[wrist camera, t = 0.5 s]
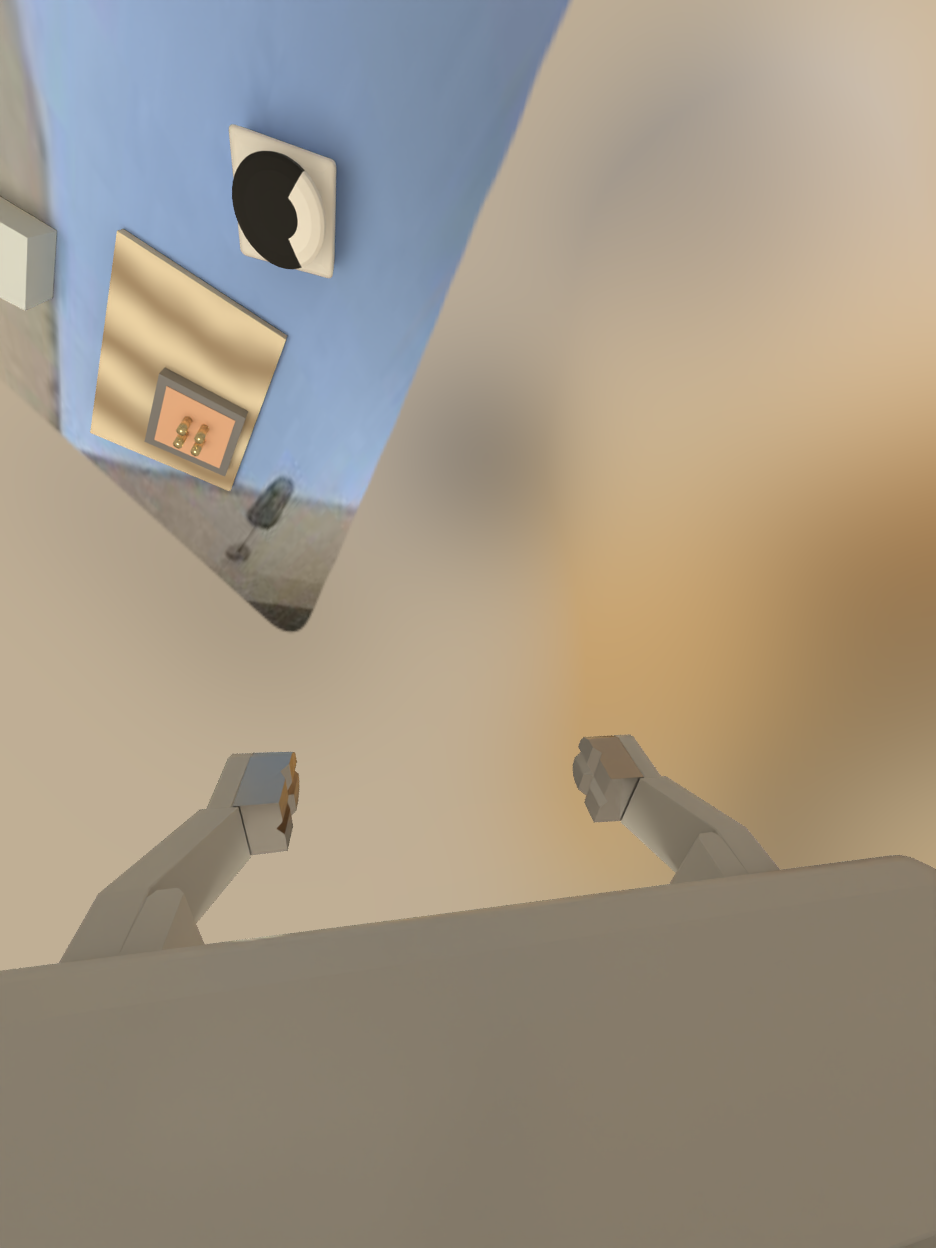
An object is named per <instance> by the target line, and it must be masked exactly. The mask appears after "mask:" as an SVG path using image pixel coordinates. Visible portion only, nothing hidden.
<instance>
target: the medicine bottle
mask: <svg viewBox="0 0 936 1248" xmlns="http://www.w3.org/2000/svg"><path fill="white" fill-rule="evenodd" d="M229 137H230V147H231V157H232V167H233V178H234V179H233V186H232V199H233V207H234V211H235V215H236V218H237V221H238V228H239V238H240V248H241V251H242V253H243V254H244V255H246V256H250V257H253V258H257V259H260V260H264V261H268V262H270V263H272V264H274V265H276V266H278V267H281V268H285V269H297V270H300V271H304V272H307V273H311V274H315V275H318V276H322V277H325V278H331V277H332V275H333V268H334V257H335V209H336V163H335V161H334V160H332V159H330V158H327V157H324V156H322V155H319V154H316V153H313V152H311V151H308V150H305V149H302V148H300V147H297V146H294V145H291V144H288V143H286V142H283V141H280V140H277V139H275V138H272V137H269V136H266V135H264V134H261V133H258V132H255V131H253V130H250V129H247V128H244V127H240V126H237V125H230V126H229Z"/></svg>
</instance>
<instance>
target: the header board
mask: <svg viewBox="0 0 936 1248" xmlns="http://www.w3.org/2000/svg"><path fill="white" fill-rule="evenodd" d="M286 338H287V335H285V334H284V333H282V332H281V331H279V330H278V329H276V328H275V327H273V326H272V325H270V324H269V323H267V322H266V321H264V320H262V319H261V318H259V317H258V316H256V315H255V314H253V313H252V312H250V311H249V310H247V309H246V308H244V307H243V306H241V305H239V304H238V303H236V302H235V301H233V300H232V299H230V298H229V297H227V296H226V295H224V294H223V293H221V292H219V291H218V290H216V289H215V288H213V287H212V286H210V285H209V284H207V283H206V282H204V281H203V280H201V279H200V278H198V277H196V276H195V275H193V274H192V273H190V272H189V271H187V270H186V269H184V268H183V267H181V266H180V265H178V264H176V263H175V262H173V261H172V260H170V259H169V258H167V257H166V256H164V255H163V254H161V253H160V252H158V251H157V250H155V249H153V248H152V247H150V246H149V245H147V244H146V243H144V242H143V241H141V240H140V239H138V238H137V237H135V236H134V235H132V234H130V233H129V232H127V231H126V230H124V229H121V230H118V231H117V235H116V243H115V250H114V258H113V265H112V273H111V280H110V288H109V296H108V303H107V311H106V318H105V326H104V333H103V341H102V348H101V356H100V363H99V371H98V379H97V386H96V394H95V401H94V409H93V416H92V424H91V431H90V433H92V434H95V435H97V436H99V437H102V438H104V439H107V440H109V441H111V442H114V443H116V444H118V445H121V446H123V447H126V448H128V449H130V450H133V451H135V452H138V453H140V454H142V455H145V456H147V457H149V458H152V459H154V460H157V461H159V462H161V463H164V464H166V465H168V466H171V467H173V468H176V469H178V470H180V471H183V472H185V473H187V474H190V475H192V476H195V477H197V478H199V479H202V480H204V481H207V482H209V483H211V484H214V485H216V486H218V487H221V488H223V489H226V490H228V491H230V490H231V488H232V485H233V482H234V479H235V477H236V474H237V471H238V469H239V466H240V463H241V460H242V458H243V455H244V452H245V450H246V447H247V444H248V441H249V439H250V436H251V433H252V431H253V428H254V425H255V422H256V420H257V417H258V414H259V412H260V409H261V406H262V404H263V401H264V398H265V395H266V393H267V390H268V387H269V385H270V382H271V379H272V376H273V374H274V371H275V368H276V366H277V363H278V360H279V357H280V355H281V352H282V349H283V347H284V344H285V341H286Z"/></svg>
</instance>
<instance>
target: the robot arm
mask: <svg viewBox="0 0 936 1248" xmlns="http://www.w3.org/2000/svg"><path fill="white" fill-rule="evenodd" d="M579 749H580V751H581V752H580V754H578V755H577V756H576V757H575V759H574V763H573V776H574V780H575V783H576V785H577V788H578V789H579V790H580V791H581V792H582V793H584V794H585V795H586V799H585V804H586V807H587V809H588V811H589V813H590V815H591V817H592V819H593V821H594V822H608V821H621V823H622V824H623V825H624V826H626V827H627V828H628V829H629V830H630V831H631V832H632V833H633V834H634V835H635V836H636V837H637V838H639V839H640V840H641V841H642V842H643V843H644V844H645V845H646V846H647V847H648V848H649V849H650V850H651V851H653V852H654V853H655V854H656V855H657V856H658V857H659V858H660V859H661V860H662V861H663V862H664V863H666V864H667V865H668V866H669V867H670V868H671V869H672V870H673V871H674V872H676V874H675V876H674V877H673V879H672V880H671V882H670V884H667V885H660V886H652V887H645V888H637V889H629V890H622V891H613V892H606V893H599V894H591V895H583V896H575V897H567V898H560V899H552V900H545V901H536V902H529V903H521V904H513V905H506V906H498V907H491V908H483V909H475V910H468V911H460V912H452V913H445V914H437V915H430V916H422V917H414V918H407V919H399V920H391V921H383V922H375V923H367V924H360V925H352V926H344V927H337V928H329V929H321V930H313V931H306V932H298V933H290V934H283V935H275V936H267V937H259V938H252V939H244V940H236V941H229V942H220V943H213V944H206V945H204V942H203V940H202V937H201V935H200V932H199V930H198V927H197V925H196V923H197V922H198V921H199V920H200V918H201V917H202V916H203V915H204V913H205V912H206V911H207V910H208V909H209V908H210V906H211V905H212V904H213V903H214V901H215V900H216V899H217V898H218V897H219V895H220V894H221V893H222V892H223V890H224V889H225V888H226V887H227V886H228V884H229V883H230V882H231V881H232V880H233V878H234V877H235V876H236V875H237V874H238V872H239V871H240V870H241V869H242V868H243V866H244V865H245V864H246V863H247V861H248V860H249V859H250V858H251V856H250V855H256V854H265V853H273V852H281V851H288V846H289V841H290V837H291V832H292V828H293V823H292V817H291V815H292V814H293V813H294V812H295V811H296V809H297V804H298V797H299V774H298V773H297V772H296V771H295V768H296V763H297V760H296V754H295V752H270V753H247V754H246V753H245V754H232V755H231V756H230V757H229V758H228V760H227V762H226V765H225V767H224V769H223V771H222V774H221V776H220V779H219V781H218V783H217V785H216V788H215V790H214V793H213V795H212V797H211V800H210V802H209V804H208V806H207V809H202V810H199V811H198V812H196V813H195V814H194V815H193V816H192V817H190V818H189V819H188V820H187V821H186V822H184V823H183V824H182V825H181V826H180V827H178V828H177V829H176V830H175V831H174V832H172V833H171V834H170V835H169V836H167V838H165V839H164V840H163V841H161V842H160V843H159V844H158V845H157V846H155V847H154V848H153V849H152V850H151V851H149V852H148V853H147V854H146V855H145V856H143V857H142V858H141V859H140V860H139V861H137V862H136V863H135V864H134V865H133V866H131V867H130V868H129V869H128V870H126V872H124V873H123V874H122V875H121V876H119V877H118V878H117V879H116V880H115V881H113V882H112V883H111V884H110V885H108V886H107V887H106V888H105V889H104V890H103V891H101V892H100V893H99V894H98V895H97V897H96V899H95V901H94V902H93V904H92V906H91V908H90V909H89V911H88V913H87V915H86V916H85V919H84V920H83V922H82V923H81V925H80V927H79V929H78V930H77V932H76V934H75V936H74V937H73V939H72V941H71V943H70V944H69V946H68V948H67V950H66V952H65V953H64V955H63V957H62V958H61V960H60V962H59V963H58V964H50V965H42V966H34V967H26V968H19V969H11V970H3V971H0V1248H936V869H934V868H933V867H931V866H929V865H926V864H924V863H922V862H920V861H918V860H916V859H914V858H911V857H907V856H901V855H893V856H883V857H876V858H868V859H860V860H852V861H845V862H837V863H829V864H822V865H814V866H806V867H799V868H791V869H783V870H780V869H779V868H778V867H777V865H776V864H775V863H774V862H773V860H772V859H771V858H770V857H769V855H768V854H767V853H766V852H765V850H764V849H763V848H762V847H761V845H760V844H759V843H758V842H757V840H756V839H755V838H754V837H753V836H752V834H751V833H750V832H749V831H748V829H747V828H746V827H744V826H743V825H741V824H740V823H738V822H737V821H735V820H733V819H732V818H730V817H729V816H727V815H726V814H724V813H722V812H721V811H719V810H718V809H716V808H715V807H713V806H711V805H710V804H708V803H707V802H705V801H704V800H702V799H701V798H699V797H697V796H696V795H694V794H693V793H691V792H689V791H688V790H687V789H685V788H683V787H682V786H680V785H679V784H677V783H675V782H674V781H672V780H671V779H669V778H668V777H666V776H661V775H660V774H659V773H658V771H657V770H656V768H655V767H654V765H653V764H652V763H651V761H650V760H649V758H648V757H647V755H646V754H645V753H644V751H643V750H642V748H641V747H640V746H639V744H638V743H637V741H636V740H635V738H634V737H633V736H631V735H615V736H597V737H583V739H581V741H580V743H579Z"/></svg>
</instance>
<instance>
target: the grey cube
mask: <svg viewBox="0 0 936 1248" xmlns="http://www.w3.org/2000/svg"><path fill="white" fill-rule="evenodd" d="M56 238H57V231H56V230H55V229H53V228H51V227H50V226H48V225H46V224H45V223H43V222H41V221H40V220H38V219H37V218H35V217H33V216H32V215H30V214H28V213H27V212H25V211H23V210H22V209H20V208H18V207H17V206H15V205H13V204H12V203H10V202H9V201H7V200H5V199H4V198H2V197H0V298H1V299H3V300H5V301H7V302H9V303H11V304H13V305H15V306H17V307H19V308H21V309H23V310H28V309H30V308H32V307H34V306H36V305H38V304H40V303H43V302H45V301H47V300H49V299H51V298H53V284H54V269H55V254H56Z"/></svg>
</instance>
